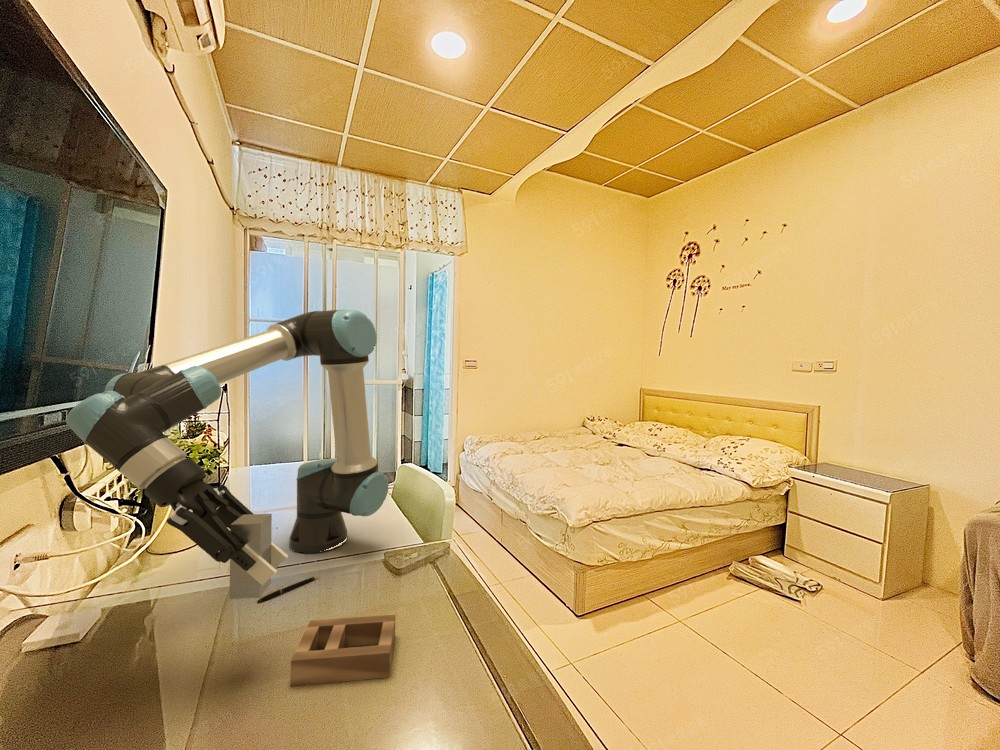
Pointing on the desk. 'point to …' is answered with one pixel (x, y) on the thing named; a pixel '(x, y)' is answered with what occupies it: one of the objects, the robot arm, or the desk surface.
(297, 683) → the wooden slotted frame
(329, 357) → the robot arm
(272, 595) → the fountain pen
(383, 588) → the desk surface
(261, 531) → the grey tall rectangular block
